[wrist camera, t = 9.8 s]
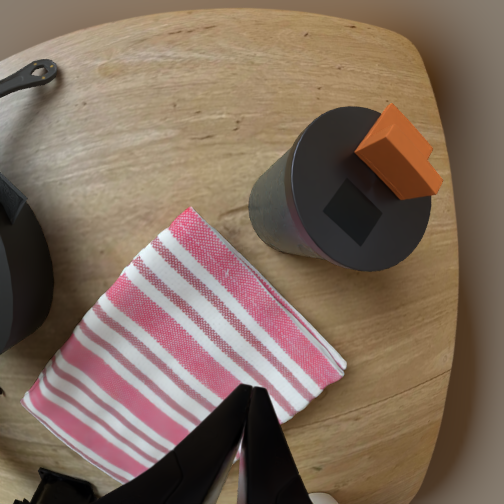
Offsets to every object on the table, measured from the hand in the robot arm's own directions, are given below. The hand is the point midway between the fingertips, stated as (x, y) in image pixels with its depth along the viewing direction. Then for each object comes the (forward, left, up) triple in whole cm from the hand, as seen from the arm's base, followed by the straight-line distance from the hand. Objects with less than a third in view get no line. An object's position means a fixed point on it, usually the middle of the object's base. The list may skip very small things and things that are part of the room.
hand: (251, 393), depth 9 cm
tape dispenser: (-21, +2, -13) cm, 25 cm away
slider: (+6, +9, -2) cm, 11 cm away
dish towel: (-4, -7, -13) cm, 16 cm away
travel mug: (+5, +8, -13) cm, 16 cm away
